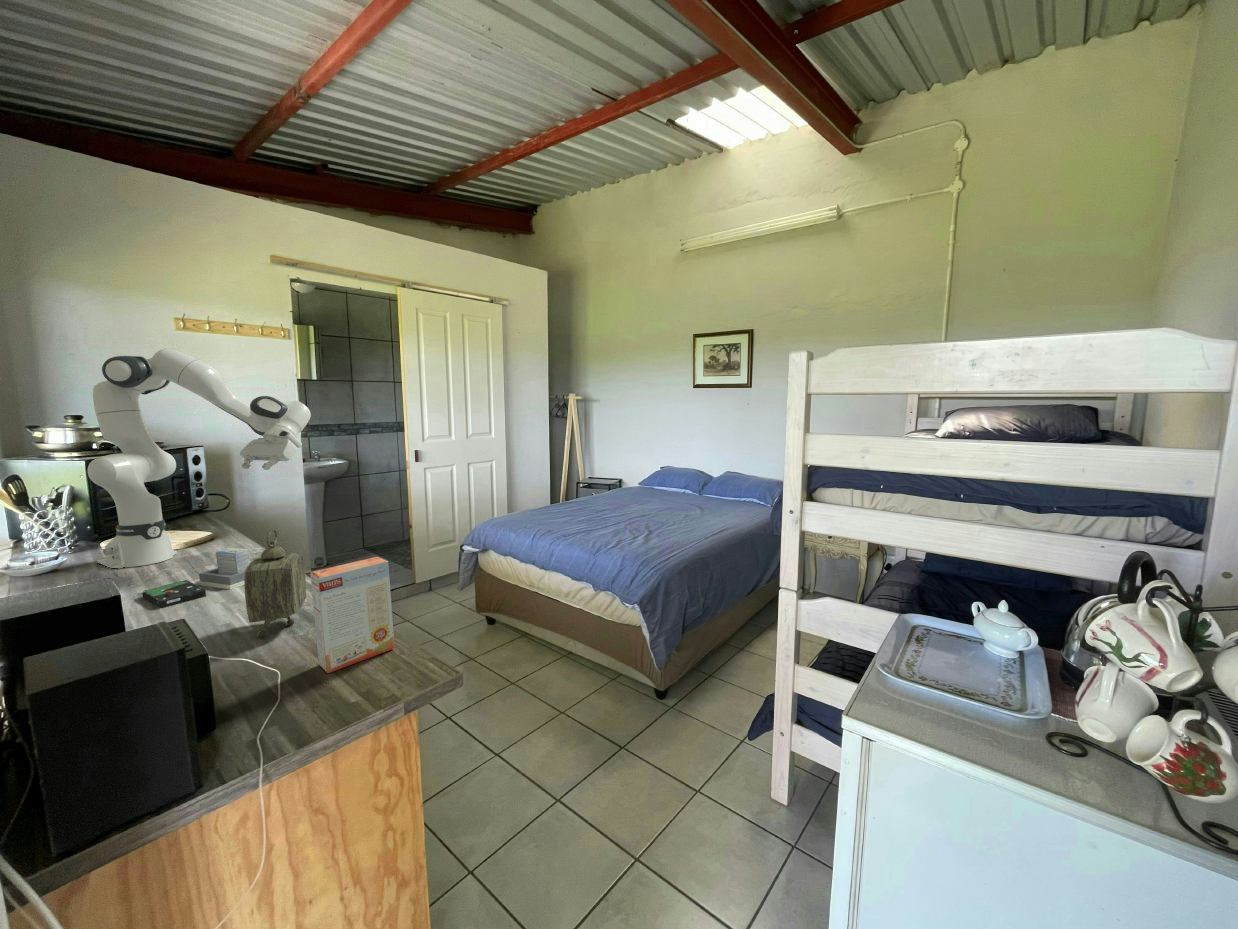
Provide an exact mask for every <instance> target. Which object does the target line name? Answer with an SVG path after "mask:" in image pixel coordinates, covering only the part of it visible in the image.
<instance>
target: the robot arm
mask: <svg viewBox="0 0 1238 929" xmlns="http://www.w3.org/2000/svg"><path fill="white" fill-rule="evenodd" d="M101 371H102V376H103V377H104V378H105V380H104V381H101V382H98V383H96V384H95V385H93V388H92V400H93V407H94V412H95V415H96V420H97V422H98V427H99V430H100V433H101V435H102V437H103V439H105V440H106V441H108V442H111V443H112V444H115V445H116V446H117V447H118V448H119V449H120V451H121V453H113V454H107V455H103V456H100V457H97V458H95V459H93V460H91V462H89V464H88V467H87V475H88V478H89V480H90V481H91V482H93V483H94V484H95V485H97V486H99V487H101V488H102V489H104V490H105V491H106V492H108V493H109V495H110V497H111V498H112V499H113V501H114V503H115V508H116V513H117V514H116V515H117V520H118V524H117V525H115V526H114V527H115V528H114V529H115V530H116V532H115V534H116V535H115V536H114V538H112V539H111V540H110V541H109V542H108V543H106V545H105V546H104V548H103V550H102V553H103V555H104V557H103V558H99V559H97V560H96V561H98V562H100V563H102V564H104V565H107V566H109V567H111V568H118V569H124V568H123V567H125V568H134V567H141V566H146V565H147V566H148V565H153V564H156V563H157V564H158V563H161V562H164V561H168V560H170V559H172V558H173V557H174V556H175V555H177V554H178V552H177V550H174V547H173V542H172V540H171V536H170V533H169V532H167V531H166V522H165V519H164V518H163V511H162V503H161V502H162V501H161V499H160V497H158V495H155V494H152V493H150V492H149V491H148V489H147V488H146V486H145V483H148V482H153V481H154V482H156V481H160V480H163V479H164V478H167V477H169V476H172V475H173V473H175V471H176V468H177V462H176V459H175V458H174V456H173V455H172V454H170V453H168V452H167V451H165V450H164V449H162V448H161V447H160V446H159V445H158V444H157V443H156V442H155V440H154V439H153V438H152V437H151V435H150V433H149V432H148V429H147V426H146V423H145V419H144V416H143V412H142V409H141V407H140V402H139V398H140V395H149V394H150V393H153V392H157V391H160V390H162V389H164V388H165V387H167V386H168V385H170V382H172V383H174V384H175V385H177V386H180V387H181V388H183V389H185V390H188V391H189V392H192V393H193V394H195V395H197V396H199V397H201V398H202V399H204V400H206V401H207V402H209V403H211V404H213V405H214V406H216V407H217V408H219V409H220V410H222V411H224V412H226V413H228V415H231V416H233V417H234V418H236V419H238V420H240V421H241V422H243V423H245V424H246V425H247V426H248V427H249V428H250V429H251V430H252V431H253V432H254V433H255V434H257V435H259V436H262V437H258V438H256V439H252V440H251V441H249V442H248V443H247V444H246V445H245V446H243V448H242V449H241V450H240V452H239V455H240V456H241V457H242V458H243V462H242V464H241V468H242V469H244V470H248V469H249V468H251V463H252V462H253V461H264V463H263V465H262V466H261V468H262V469H263V470H264V471H265V470H266V471H267V470H268V471H269V470H270V469H271V468H272V467H273V466H275V465H276V464H278V463H279V462H288V461H289V460H291V459H292V458H293V457H294V455H295V454H296V453H297V452H298V450H299V449H300V448H301V447H302V445H303V443H302V442H301V440H299V439H298V435H299V433H301V432H302V431H303V430H304V429H305V427H306V426H307V425H308V423H309V422H310V419H311V417H312V413H311V410H310V409H309V407H308V406H307V405H305V404H304V403H303V402H301V401H299V400H292V401H288V400H281V399H278V398H275V397H273V396H269V395H260V396H257V397H255V398H253V399H252V400H251V402H250V404H248V403H246V402H244V401H243V400H241V399H240V398H238V397H237V396H235V395H234V394H233V392H231V390H230V388H228V386H227V384H226V382H225V380H224V378H223V376H222V374H221V373H220V372H219V371H218V370H217V369H216V368H214V367H213V366H211V365H210V364H208V363H207V362H204V361H203V360H200V359H199V358H197V357H194V356H192V355H190V354H187V353H185V352H182V351H179V350H176V349H172V348H163V349H160V350H158V351H156V352H155V353H154V354H153V355H152V357H150V358H145V357H144V356H139V355H138V356H137V355H118V356H112V357H109V358H108V359H106V360H105V361H104V363H103V364H102V367H101ZM265 461H267V462H265ZM111 568H110V569H111Z"/></svg>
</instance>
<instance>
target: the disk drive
mask: <svg viewBox="0 0 1238 929" xmlns="http://www.w3.org/2000/svg"><path fill="white" fill-rule="evenodd" d="M141 595H142V598H143V599H144V598H145V599H146V600H145V599H144V600H145V601H147V600H148V601H147V602H148V603H150V604H152V605H154V606H155V605H156V606H155V607H157V608H158V607H159V609H160V608H161V609H165V608H168V607H172V606H176V605H180V604H183V603H187V602H191V601H195V600H197V599H202V598H206V597H207V590H206V589H205V588H204V587H201V585H197V584H196V583H193V582H192V581H189V580H187V579H186V580H181V581H177V582H172V583H168V584H164V585H162V586H157V587H153V588H150V589H149V588H148V589H144V590H143V591H142V594H141Z"/></svg>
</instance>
